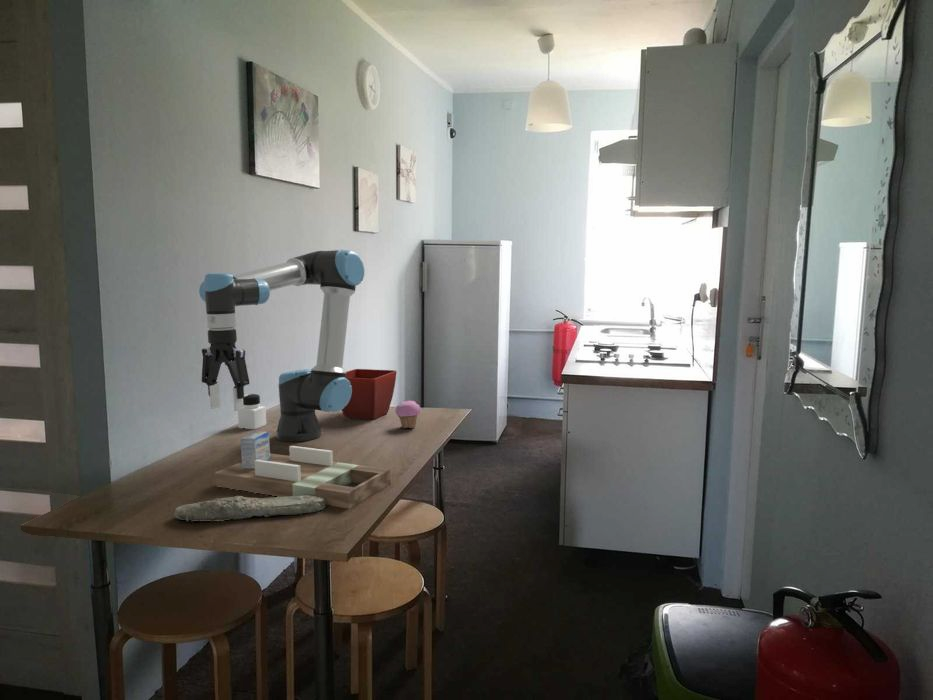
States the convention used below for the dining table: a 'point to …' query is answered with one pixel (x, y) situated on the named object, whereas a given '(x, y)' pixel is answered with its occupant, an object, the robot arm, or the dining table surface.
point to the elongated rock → (249, 507)
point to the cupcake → (408, 413)
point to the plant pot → (369, 393)
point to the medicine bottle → (252, 413)
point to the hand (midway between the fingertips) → (227, 408)
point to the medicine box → (255, 449)
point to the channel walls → (292, 470)
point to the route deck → (311, 481)
